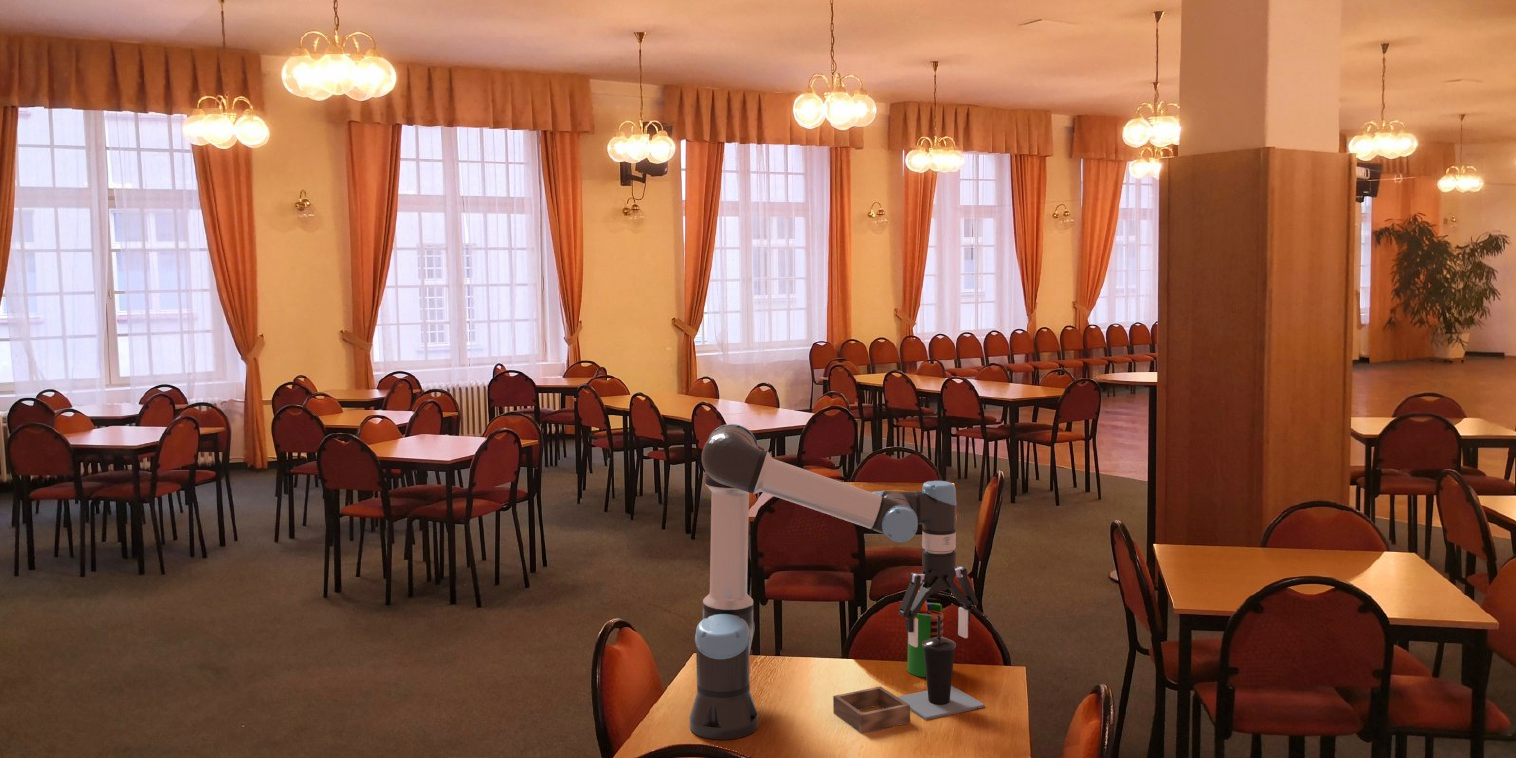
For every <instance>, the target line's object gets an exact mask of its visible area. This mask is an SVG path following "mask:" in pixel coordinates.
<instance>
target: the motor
mask: <svg viewBox="0 0 1516 758" xmlns="http://www.w3.org/2000/svg"><path fill="white" fill-rule="evenodd" d="M919 591H920V589H919V590H918V592H919ZM917 594H918V593H917ZM937 616H940V637H944V634H943V633H944V627H943V626H944V620H943V619H944V613H943V604H940V603H932V602H928V601H927V600H926V601H925V603H924V604H923V606H922V607H921V609H920V610H919V612H918V613H917V615H916V616H915V617H916V618H918V647H913V646H912V645H910V644H908V643H907V671H908V673H909V674H911V675H912V676H915V677H920V678H925V677H926V669H925V658H924V648H923V646H922V642H923V641H924V640H926V639H929V638H932V637H937ZM908 633H909V632H908V631H907V634H908Z"/></svg>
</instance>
